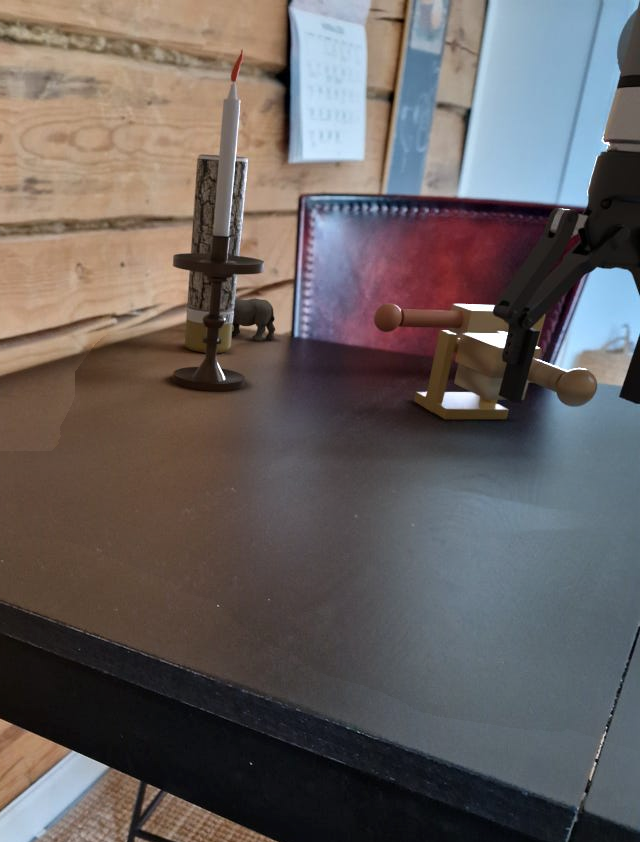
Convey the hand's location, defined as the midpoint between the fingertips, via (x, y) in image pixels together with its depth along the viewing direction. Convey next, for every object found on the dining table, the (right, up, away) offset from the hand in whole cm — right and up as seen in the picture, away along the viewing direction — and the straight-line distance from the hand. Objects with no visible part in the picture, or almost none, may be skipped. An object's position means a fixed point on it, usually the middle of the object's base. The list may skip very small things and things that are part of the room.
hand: (571, 400), depth 84 cm
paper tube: (-33, +19, +43) cm, 58 cm away
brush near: (-2, +2, +9) cm, 10 cm away
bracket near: (-4, +4, +20) cm, 20 cm away
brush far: (-1, +17, +34) cm, 38 cm away
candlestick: (-34, +9, +25) cm, 43 cm away
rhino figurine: (-29, +25, +53) cm, 66 cm away
